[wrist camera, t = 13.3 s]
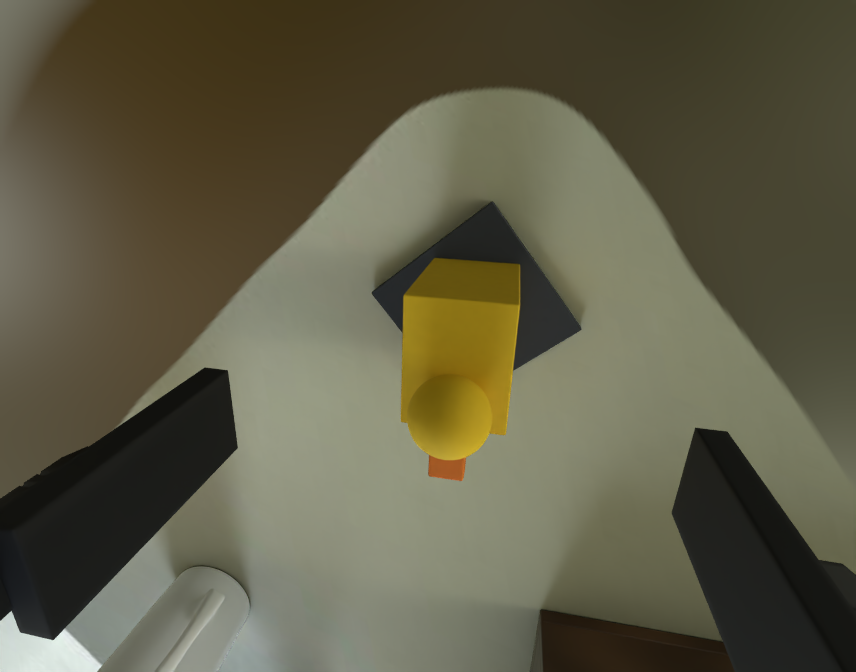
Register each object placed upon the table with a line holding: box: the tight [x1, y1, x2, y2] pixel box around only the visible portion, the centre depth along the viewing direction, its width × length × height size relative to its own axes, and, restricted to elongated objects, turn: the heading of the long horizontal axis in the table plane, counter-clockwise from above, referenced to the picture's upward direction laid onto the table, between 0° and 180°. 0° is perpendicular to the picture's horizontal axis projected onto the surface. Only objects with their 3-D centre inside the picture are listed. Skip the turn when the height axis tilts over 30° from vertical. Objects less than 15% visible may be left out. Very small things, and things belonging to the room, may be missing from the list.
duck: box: [401, 258, 520, 481], centre depth 21 cm, size 4×7×10 cm, turn 178°
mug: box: [98, 566, 250, 672], centre depth 32 cm, size 10×7×12 cm, turn 145°
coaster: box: [372, 201, 581, 370], centre depth 26 cm, size 8×8×1 cm
